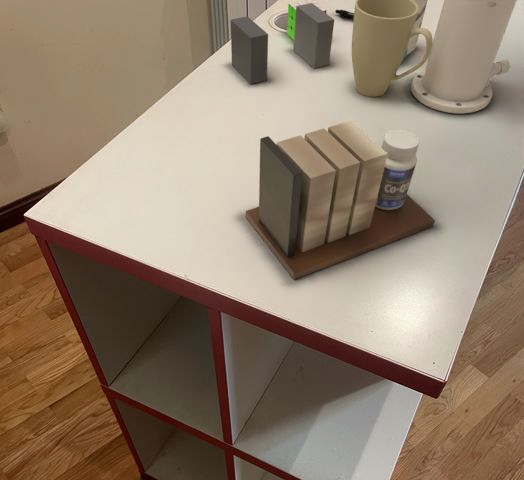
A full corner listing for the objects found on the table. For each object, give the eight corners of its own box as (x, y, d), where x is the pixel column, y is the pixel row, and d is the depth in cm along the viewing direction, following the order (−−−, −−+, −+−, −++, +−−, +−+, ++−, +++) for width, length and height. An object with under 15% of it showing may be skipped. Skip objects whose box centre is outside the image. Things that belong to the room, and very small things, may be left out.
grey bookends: (307, 47, 91) (311, 2, 85) (329, 64, 87) (334, 19, 82) (231, 65, 86) (230, 19, 81) (250, 84, 83) (250, 37, 77)
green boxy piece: (298, 45, 91) (300, 14, 87) (286, 34, 94) (288, 3, 90) (323, 41, 92) (326, 10, 88) (311, 29, 95) (313, -1, 91)
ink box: (395, 67, 87) (418, -37, 75) (370, 58, 89) (388, -45, 77) (416, 48, 91) (441, -53, 79) (391, 40, 93) (412, -60, 81)
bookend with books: (376, 173, 70) (397, 85, 60) (432, 226, 64) (465, 137, 54) (245, 217, 64) (244, 127, 54) (293, 280, 58) (302, 191, 48)
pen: (332, 16, 98) (333, 9, 97) (336, 13, 99) (337, 6, 98) (400, 35, 94) (401, 28, 93) (403, 32, 95) (405, 25, 94)
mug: (348, 107, 79) (362, 22, 70) (338, 75, 85) (350, -8, 75) (418, 106, 80) (441, 21, 70) (403, 74, 86) (423, -8, 76)
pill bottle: (380, 215, 63) (395, 154, 56) (359, 193, 66) (372, 132, 59) (411, 205, 64) (431, 144, 58) (390, 183, 67) (407, 123, 60)
